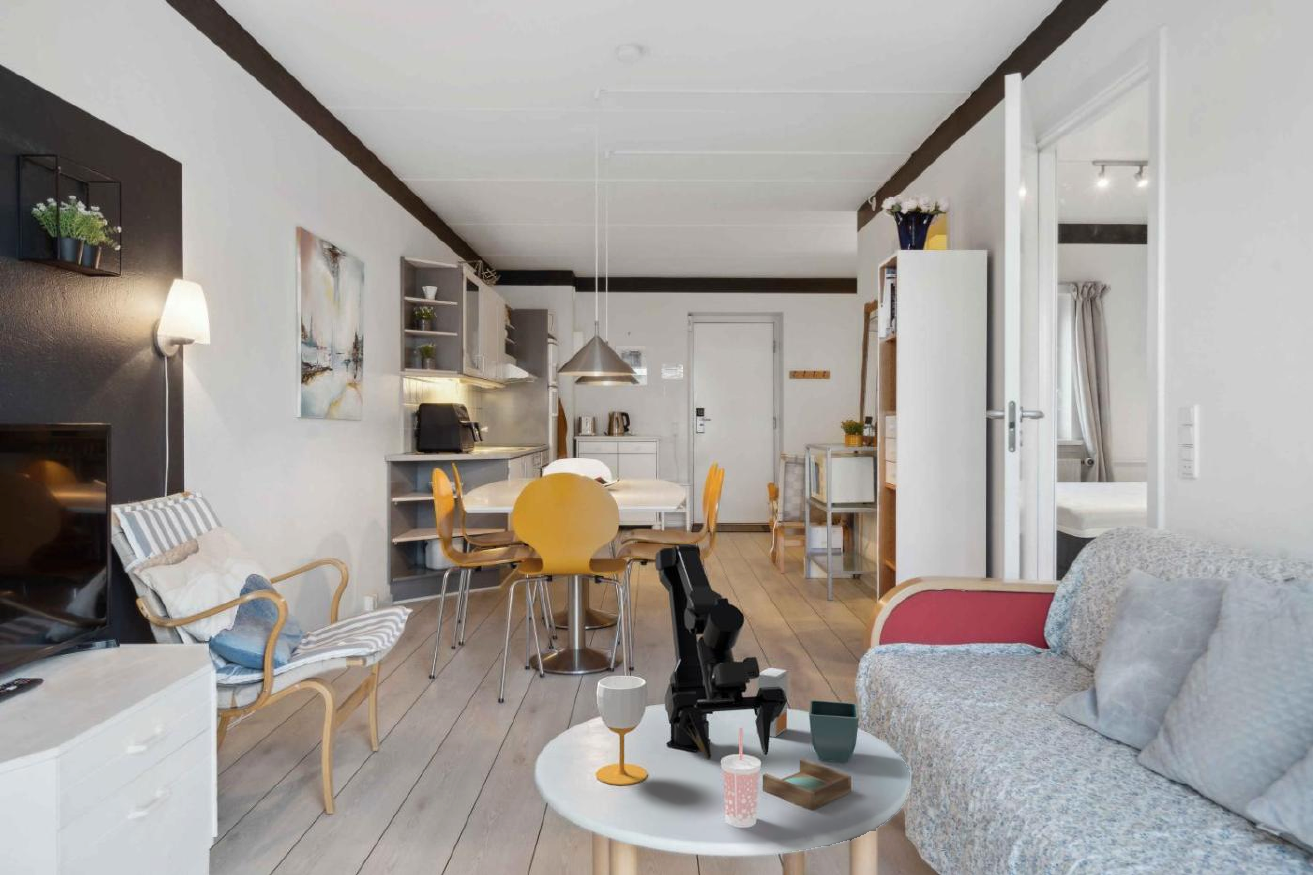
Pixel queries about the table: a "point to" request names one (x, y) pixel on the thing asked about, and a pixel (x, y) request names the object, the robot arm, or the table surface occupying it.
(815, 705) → the flower pot
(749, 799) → the beverage cup
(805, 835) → the table surface
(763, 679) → the skincare box
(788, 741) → the table surface
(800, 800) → the wooden tray
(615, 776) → the cup
